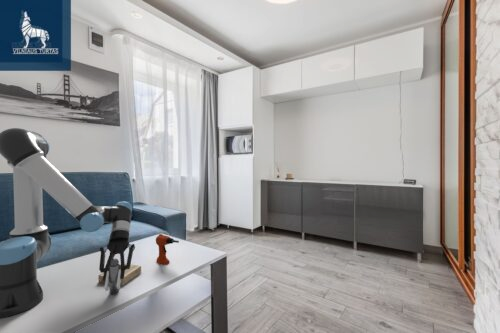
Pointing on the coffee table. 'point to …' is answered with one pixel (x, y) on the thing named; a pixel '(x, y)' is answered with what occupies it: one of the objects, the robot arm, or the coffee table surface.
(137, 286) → the coffee table surface
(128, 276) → the block
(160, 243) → the toy drill
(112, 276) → the metal round-headed rod
